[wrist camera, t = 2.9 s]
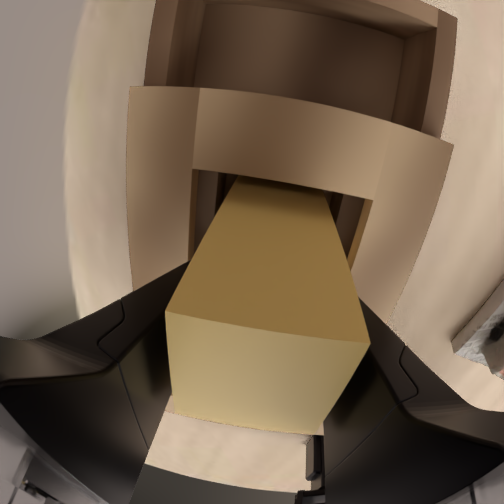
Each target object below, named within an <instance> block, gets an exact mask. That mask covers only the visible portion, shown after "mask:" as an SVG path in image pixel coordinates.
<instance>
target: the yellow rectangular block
mask: <svg viewBox="0 0 504 504" xmlns="http://www.w3.org/2000/svg"><path fill="white" fill-rule="evenodd" d="M165 320H166V334H167V346H168V357H169V368H170V377H171V386H172V394H173V402H174V410H175V413H176V414H180V415H184V416H188V417H193V418H197V419H202V420H207V421H212V422H217V423H222V424H228V425H233V426H240V427H246V428H253V429H260V430H268V431H277V432H287V433H299V434H315V432H316V431H317V430H318V428H319V427H320V425H321V424H322V422H323V421H324V420H325V418H326V417H327V415H328V414H329V412H330V411H331V409H332V408H333V406H334V405H335V403H336V401H337V400H338V398H339V397H340V395H341V394H342V392H343V390H344V389H345V387H346V385H347V384H348V382H349V381H350V379H351V377H352V376H353V374H354V372H355V370H356V369H357V367H358V365H359V364H360V362H361V360H362V358H363V356H364V355H365V353H366V351H367V349H368V347H369V346H370V344H371V343H370V339H369V335H368V331H367V327H366V324H365V320H364V316H363V313H362V309H361V305H360V302H359V298H358V295H357V292H356V288H355V285H354V281H353V278H352V275H351V272H350V268H349V265H348V262H347V259H346V256H345V253H344V250H343V247H342V244H341V241H340V238H339V235H338V232H337V229H336V226H335V223H334V220H333V217H332V215H331V212H330V209H329V206H328V203H327V201H326V198H325V195H324V193H323V190H322V189H318V188H313V187H308V186H303V185H297V184H292V183H286V182H281V181H275V180H269V179H263V178H256V177H250V176H244V175H238V177H237V178H236V180H235V182H234V184H233V185H232V187H231V189H230V191H229V192H228V194H227V196H226V198H225V199H224V201H223V203H222V205H221V206H220V208H219V210H218V212H217V214H216V215H215V217H214V219H213V221H212V223H211V224H210V226H209V228H208V230H207V232H206V234H205V235H204V237H203V239H202V241H201V243H200V245H199V246H198V248H197V250H196V252H195V254H194V256H193V258H192V260H191V261H190V263H189V265H188V267H187V269H186V271H185V273H184V275H183V277H182V279H181V281H180V282H179V284H178V286H177V288H176V290H175V292H174V294H173V296H172V298H171V300H170V302H169V304H168V306H167V308H166V310H165Z"/></svg>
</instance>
